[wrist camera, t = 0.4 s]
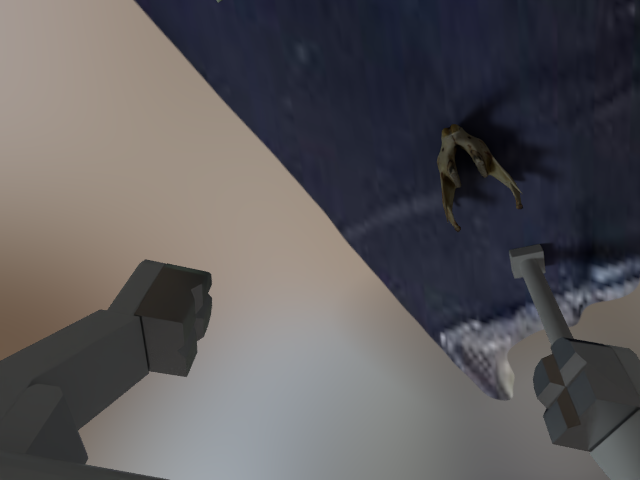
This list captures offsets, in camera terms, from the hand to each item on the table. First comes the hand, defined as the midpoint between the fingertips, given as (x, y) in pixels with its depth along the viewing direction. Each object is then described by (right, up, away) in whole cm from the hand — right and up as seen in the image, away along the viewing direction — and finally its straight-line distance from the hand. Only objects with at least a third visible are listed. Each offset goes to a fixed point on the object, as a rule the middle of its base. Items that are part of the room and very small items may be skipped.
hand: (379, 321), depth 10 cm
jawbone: (+17, +13, +44) cm, 49 cm away
